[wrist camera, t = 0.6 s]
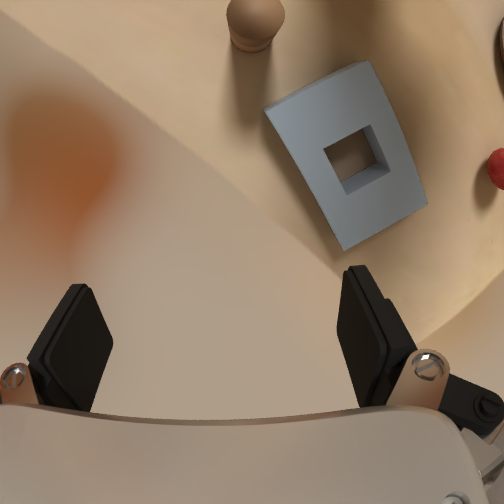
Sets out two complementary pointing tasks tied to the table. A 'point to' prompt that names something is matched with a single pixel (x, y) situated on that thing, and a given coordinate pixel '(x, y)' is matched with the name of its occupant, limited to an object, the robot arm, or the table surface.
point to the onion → (497, 168)
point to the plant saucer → (502, 40)
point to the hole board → (336, 128)
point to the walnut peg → (254, 23)
